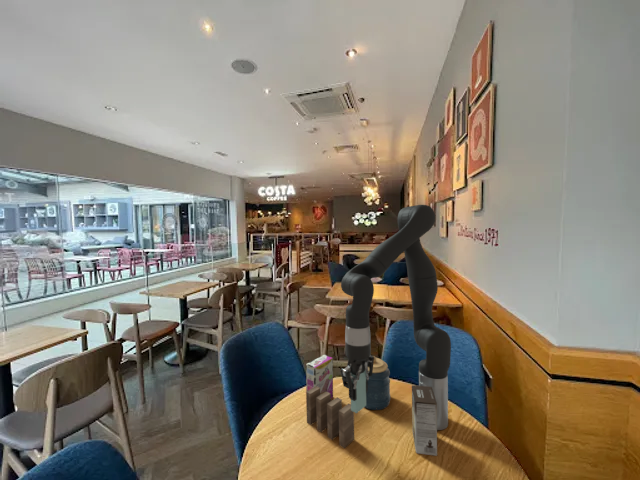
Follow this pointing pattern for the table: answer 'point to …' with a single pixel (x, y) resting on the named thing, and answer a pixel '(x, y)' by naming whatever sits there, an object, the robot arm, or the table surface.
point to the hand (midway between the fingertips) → (358, 395)
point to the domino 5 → (359, 394)
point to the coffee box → (424, 420)
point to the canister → (378, 386)
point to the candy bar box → (320, 374)
